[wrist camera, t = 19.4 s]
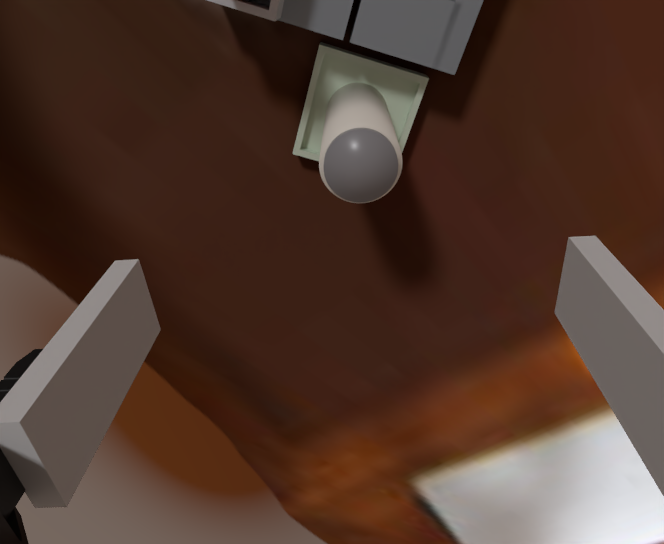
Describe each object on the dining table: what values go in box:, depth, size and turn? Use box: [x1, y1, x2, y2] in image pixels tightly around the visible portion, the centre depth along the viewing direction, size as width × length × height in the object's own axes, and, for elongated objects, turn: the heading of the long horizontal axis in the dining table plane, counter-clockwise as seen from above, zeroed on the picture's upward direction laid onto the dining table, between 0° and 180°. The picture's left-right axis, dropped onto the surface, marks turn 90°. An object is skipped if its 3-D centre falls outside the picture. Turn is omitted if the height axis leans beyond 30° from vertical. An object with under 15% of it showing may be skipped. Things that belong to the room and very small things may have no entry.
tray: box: [293, 42, 429, 161], centre depth 40 cm, size 9×9×2 cm
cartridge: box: [319, 82, 402, 203], centre depth 35 cm, size 5×5×13 cm
